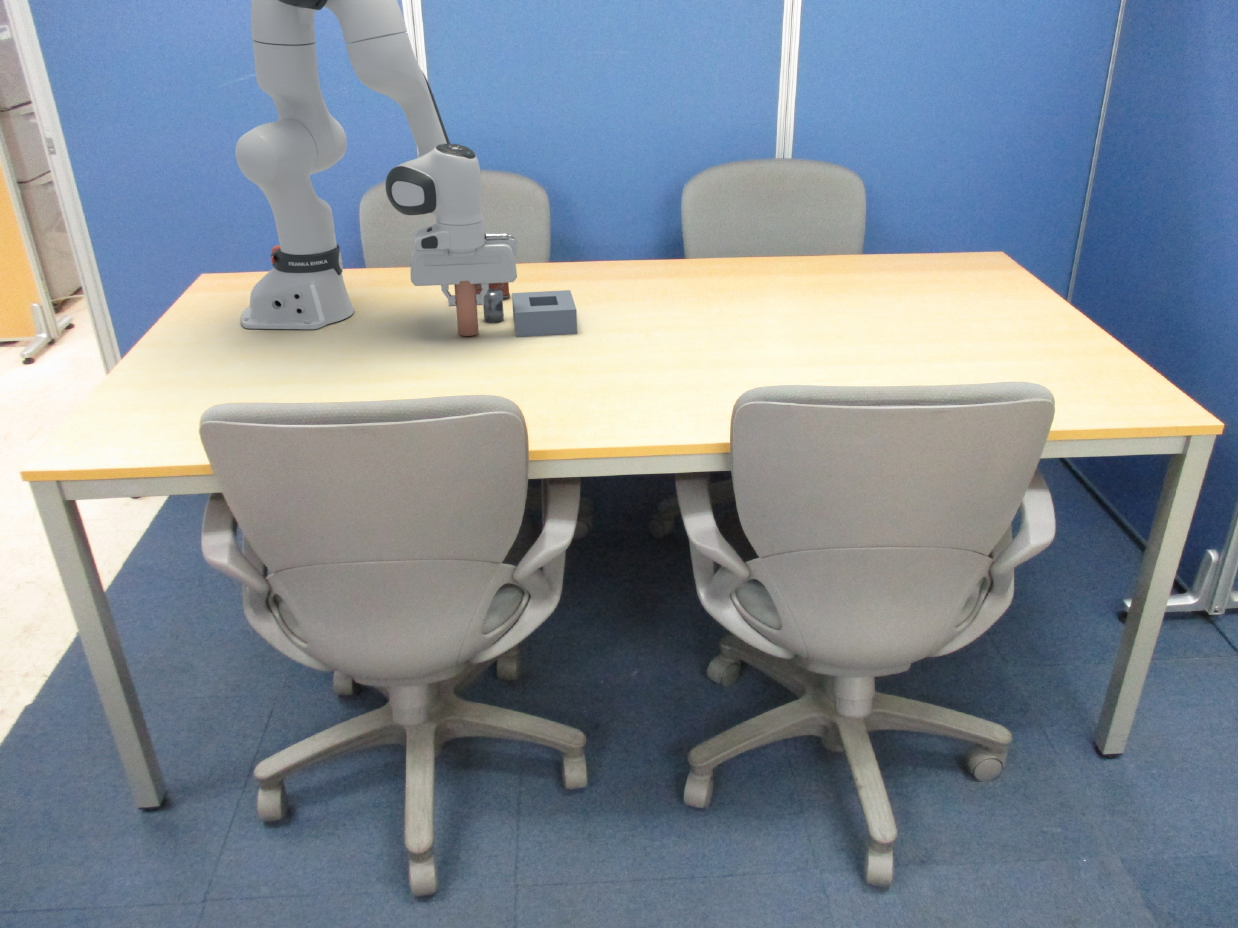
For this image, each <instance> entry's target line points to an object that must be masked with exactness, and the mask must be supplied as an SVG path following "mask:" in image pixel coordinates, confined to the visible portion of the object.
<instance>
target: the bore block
mask: <svg viewBox="0 0 1238 928" xmlns="http://www.w3.org/2000/svg"><path fill="white" fill-rule="evenodd" d="M511 302H512V316H513V322H514V323H513V324H514V330H515V336H516V338H519V337H521V338H522V337H523V338H524V337H538V336H555V335H557V336H558V335H572V334H575V335H577V334H578V322H577V321H578V320H577V319H578V318H577V317H578V316H577V315H578V314H577V307H576V304H575V301H574V298H573V294H572V292H571V290H570V289H568V290H547V291H546V290H544V291H543V290H542V291H529V292H526V291H525V292H511Z"/></svg>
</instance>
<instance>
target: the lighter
mask: <svg viewBox="0 0 1238 928" xmlns="http://www.w3.org/2000/svg"><path fill="white" fill-rule="evenodd" d="M488 284H489V289H500V290H502V298H503V301H509V300H510V299H511V293H510V287H509V284H510V282H507V283H488ZM475 286H476V294H480V293H481V291H482V287H481V284H475Z"/></svg>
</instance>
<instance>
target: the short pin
mask: <svg viewBox="0 0 1238 928" xmlns="http://www.w3.org/2000/svg"><path fill="white" fill-rule="evenodd" d="M503 301H504V300H503V298H502V290H500V289H488V291H487V293H486V294H485V296H484V305H482V308H483V321H484V322H485V323H487V324H499V323H501V322H504V320H505V315H504V303H503Z"/></svg>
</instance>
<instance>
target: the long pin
mask: <svg viewBox="0 0 1238 928" xmlns="http://www.w3.org/2000/svg"><path fill="white" fill-rule="evenodd" d="M453 287H454V295H455V297H456V306H455V309H456V310H455V311H456V323H457V334H458V335H460V336H465V337H471V336H475V335H477V334H479V319H478V318H479V317H478V305H477V304H476V286H475V284H471V283H470V282H469V281H460V283H459V284H457V285H453Z"/></svg>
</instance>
